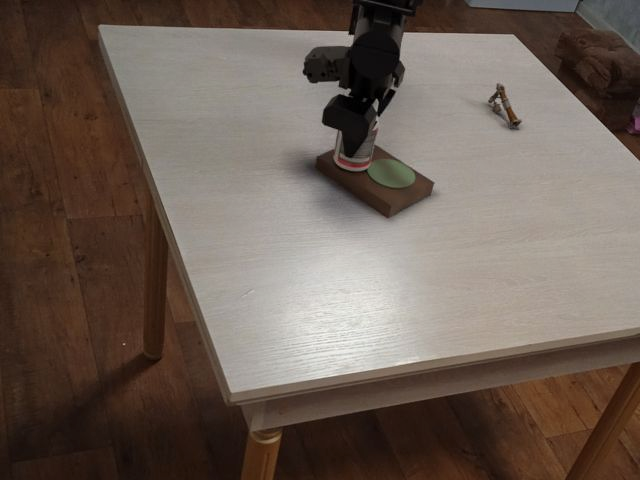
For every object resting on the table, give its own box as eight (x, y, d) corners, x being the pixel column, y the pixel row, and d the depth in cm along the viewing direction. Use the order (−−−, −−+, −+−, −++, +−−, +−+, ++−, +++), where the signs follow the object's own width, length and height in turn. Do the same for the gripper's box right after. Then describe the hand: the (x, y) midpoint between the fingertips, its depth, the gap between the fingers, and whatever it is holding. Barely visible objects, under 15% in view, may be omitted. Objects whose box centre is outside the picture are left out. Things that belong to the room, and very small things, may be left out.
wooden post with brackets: (491, 96, 143) (504, 79, 140) (509, 135, 142) (523, 120, 138) (482, 97, 143) (496, 80, 139) (500, 136, 141) (514, 120, 137)
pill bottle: (377, 169, 117) (391, 107, 111) (345, 175, 115) (357, 112, 108) (357, 149, 120) (369, 87, 114) (325, 154, 117) (336, 91, 111)
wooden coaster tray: (360, 147, 125) (362, 134, 123) (431, 193, 120) (435, 181, 118) (314, 168, 118) (316, 155, 117) (388, 217, 114) (391, 204, 112)
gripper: (339, -3, 112) (322, 101, 123) (291, 49, 99) (276, 160, 110) (417, 23, 112) (392, 124, 122) (378, 79, 98) (355, 187, 109)
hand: (354, 147), depth 116 cm, fingers closed on pill bottle, 5 cm apart
